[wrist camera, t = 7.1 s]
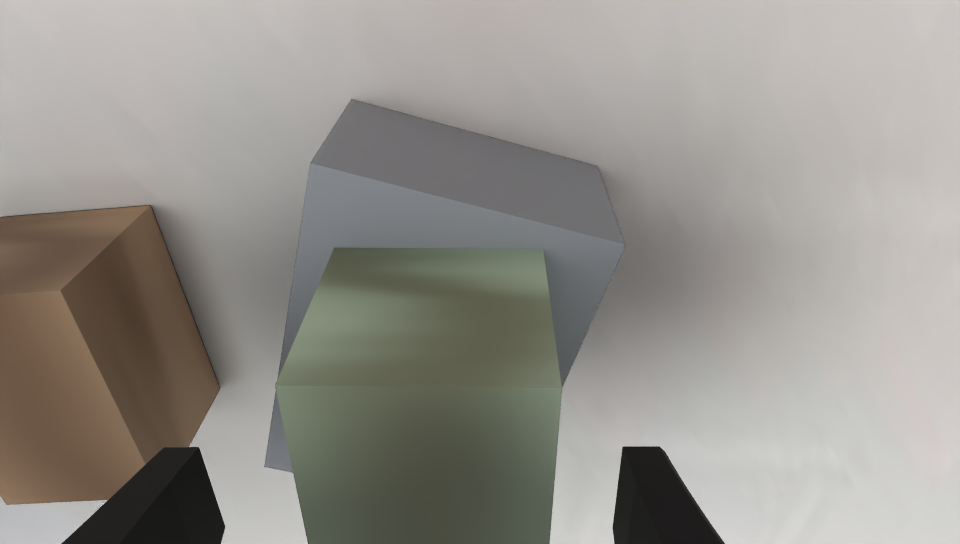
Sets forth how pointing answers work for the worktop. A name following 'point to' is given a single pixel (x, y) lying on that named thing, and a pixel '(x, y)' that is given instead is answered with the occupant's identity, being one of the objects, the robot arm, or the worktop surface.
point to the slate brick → (451, 215)
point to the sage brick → (425, 398)
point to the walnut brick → (92, 354)
